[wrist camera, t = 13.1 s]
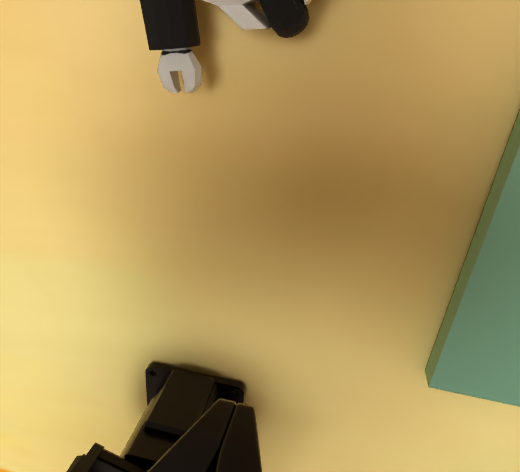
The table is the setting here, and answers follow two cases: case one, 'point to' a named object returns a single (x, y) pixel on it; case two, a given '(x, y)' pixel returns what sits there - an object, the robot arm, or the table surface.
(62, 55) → the table surface
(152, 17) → the robot toy
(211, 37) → the table surface
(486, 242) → the board
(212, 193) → the table surface
